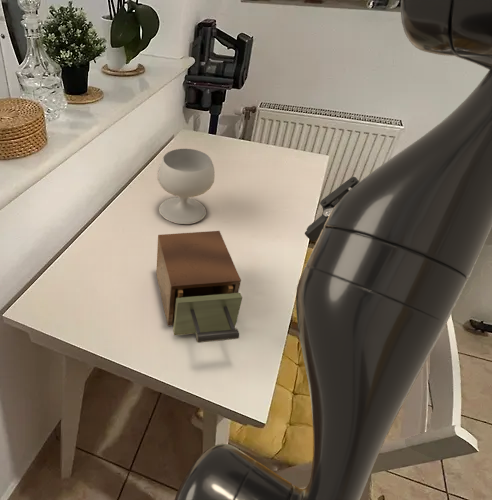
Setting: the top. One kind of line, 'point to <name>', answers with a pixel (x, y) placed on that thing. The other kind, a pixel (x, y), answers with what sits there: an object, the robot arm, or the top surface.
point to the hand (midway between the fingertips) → (323, 256)
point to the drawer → (207, 312)
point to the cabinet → (192, 265)
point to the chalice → (185, 184)
